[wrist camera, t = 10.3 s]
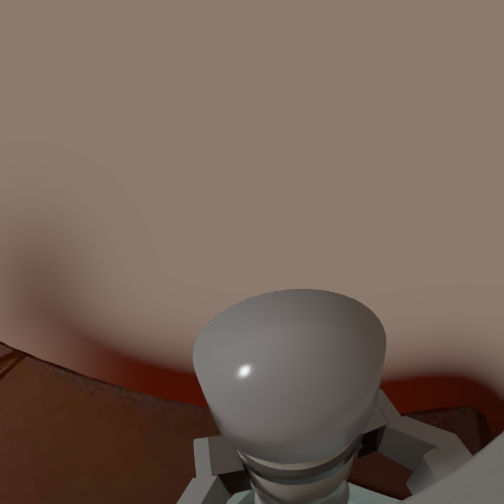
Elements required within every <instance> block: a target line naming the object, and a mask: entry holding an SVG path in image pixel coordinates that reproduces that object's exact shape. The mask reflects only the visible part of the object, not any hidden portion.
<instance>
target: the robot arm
mask: <svg viewBox="0 0 504 504" xmlns="http://www.w3.org/2000/svg"><path fill="white" fill-rule="evenodd" d="M377 450H378V452H380V453H381V454H383V455H385V456H387V457H389V458H390V459H392V460H394V461H396V462H398V463H400V464H402V465H404V466H405V467H407V468H409V469H411V470H413V471H414V472H413V473H412V475H411V476H410V478H409V479H408V481H407V483H406V484H407V486H408V488H409V489H410V491H411V493H412V494H413V495H412V496H410V497H408V498H406V499H404V500H403V501H401V502H399V503H397V504H504V431H503V432H502V433H501V434H500V435H499V436H498V437H497V438H495V439H494V440H493V441H492V442H491V443H489V444H488V445H487V446H486V447H484V448H483V449H482V450H481V451H479V452H478V453H477V454H475V455H474V456H472V455H471V454H470V452H469V451H468V450H467V448H466V447H465V446H464V445H463V443H462V442H461V441H460V439H459V438H458V437H457V436H456V434H454V433H451V432H448V431H445V430H442V429H439V428H436V427H433V426H431V425H428V424H425V423H422V422H420V421H417V420H414V419H412V418H409V417H406V416H404V417H401V415H400V414H399V413H398V411H397V410H396V409H395V407H394V406H393V405H392V403H391V402H390V401H389V399H388V398H387V396H386V395H385V394H384V392H383V391H382V390H381V389H379V392H378V397H377V402H376V406H375V410H374V413H373V416H372V418H371V420H370V422H369V423H368V425H367V426H366V428H365V429H364V430H363V432H362V433H361V434H360V438H359V442H358V446H357V448H356V451H355V453H354V454H355V456H356V457H357V458H359V457H362V456H365V455H367V454H370V453H372V452H375V451H377ZM194 454H195V466H196V476H197V478H193V479H192V480H191V482H190V483H189V485H188V487H187V488H186V490H185V491H184V493H183V495H182V496H181V498H180V499H179V501H178V502H177V504H226V503H227V501H228V499H229V496H230V495H229V494H233V493H238V492H243V491H248V490H253V489H252V485H251V480H250V477H249V474H248V472H247V470H246V468H245V465H244V463H243V462H242V460H241V459H240V457H239V455H238V452H237V450H236V448H235V447H234V446H233V445H232V444H230V443H229V442H228V441H227V440H226V439H225V437H224V436H223V435H220V436H214V437H206V438H200V439H194Z"/></svg>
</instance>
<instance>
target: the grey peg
mask: <svg viewBox="0 0 504 504" xmlns="http://www.w3.org/2000/svg"><path fill="white" fill-rule="evenodd" d="M385 351H386V334H385V331H384V328H383V326H382V324H381V322H380V320H379V319H378V317H377V316H376V315H375V314H374V313H373V312H372V311H371V310H370V309H369V308H368V307H366V306H365V305H363V304H362V303H360V302H358V301H356V300H355V299H352V298H350V297H347V296H345V295H341V294H338V293H334V292H329V291H323V290H313V289H293V290H282V291H275V292H270V293H265V294H262V295H258V296H255V297H252V298H249V299H246V300H244V301H241V302H239V303H237V304H235V305H233V306H231V307H229V308H227V309H226V310H224V311H222V312H221V313H220V314H218V315H217V316H215V317H214V318H213V319H212V320H211V321H210V322H209V323H208V324H207V325H206V326H205V327H204V328H203V330H202V331H201V333H200V335H199V336H198V338H197V340H196V342H195V346H194V349H193V364H194V369H195V372H196V374H197V377H198V380H199V382H200V385H201V388H202V390H203V393H204V395H205V398H206V400H207V402H208V405H209V408H210V410H211V413H212V415H213V418H214V420H215V422H216V425H217V427H218V429H219V431H220V432H221V434H222V435H223V436H224V437H225V439H226V440H227V441H228V442H229V443H230V444H232V445H233V446H234V447H235V448H236V450H237V452H238V455H239V457H240V459H241V460H242V462H243V463H244V465H245V468H246V470H247V472H248V474H249V477H250V480H251V482H252V484H253V486H254V489H255V491H256V492H255V504H348V500H349V495H350V490H349V484H348V482H347V481H348V477H349V474H350V470H351V466H352V462H353V458H354V453H355V451H356V448H357V446H358V442H359V438H360V434H361V433H362V432H363V430H364V429H365V428H366V426H367V425H368V423H369V422H370V420H371V418H372V416H373V413H374V410H375V406H376V402H377V397H378V392H379V387H380V381H381V376H382V370H383V364H384V358H385Z"/></svg>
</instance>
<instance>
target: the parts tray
mask: <svg viewBox="0 0 504 504" xmlns="http://www.w3.org/2000/svg"><path fill="white" fill-rule="evenodd" d="M348 484H349V490H350V495H349V500H348V504H397V503H399V502H401V500H398V499H395V498H391V497H388V496H385V495H382V494H379V493H376V492H373V491H370V490H367V489H364V488H362V487H359V486H356V485H354V484H351V483H348ZM251 485H252V489H253V490H248V491H243V492H238V493H236V494H235V495H234V496H233V497H231V498H230V499H229V500H228V501H227V503H226V504H255V492H256V491H255V489H254V486H253V484H252V482H251Z"/></svg>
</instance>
